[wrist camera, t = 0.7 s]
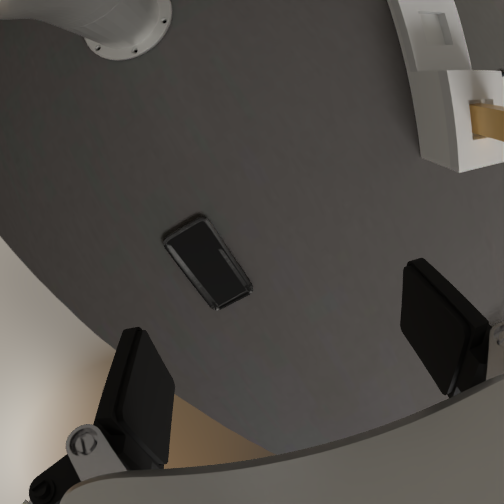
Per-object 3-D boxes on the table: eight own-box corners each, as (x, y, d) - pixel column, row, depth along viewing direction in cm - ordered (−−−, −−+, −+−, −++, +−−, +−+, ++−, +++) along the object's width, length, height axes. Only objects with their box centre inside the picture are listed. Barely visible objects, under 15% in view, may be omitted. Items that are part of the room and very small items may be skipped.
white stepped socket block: (383, -10, 32) (417, -28, 23) (440, -5, 31) (477, -16, 22) (420, 157, 44) (459, 172, 35) (470, 147, 44) (509, 160, 35)
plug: (463, 104, 33) (514, 113, 24) (481, 103, 33) (530, 112, 24) (467, 131, 35) (516, 145, 26) (484, 129, 35) (532, 142, 26)
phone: (214, 312, 52) (160, 241, 46) (214, 308, 53) (161, 238, 47) (256, 291, 51) (205, 214, 45) (255, 287, 52) (205, 212, 46)
